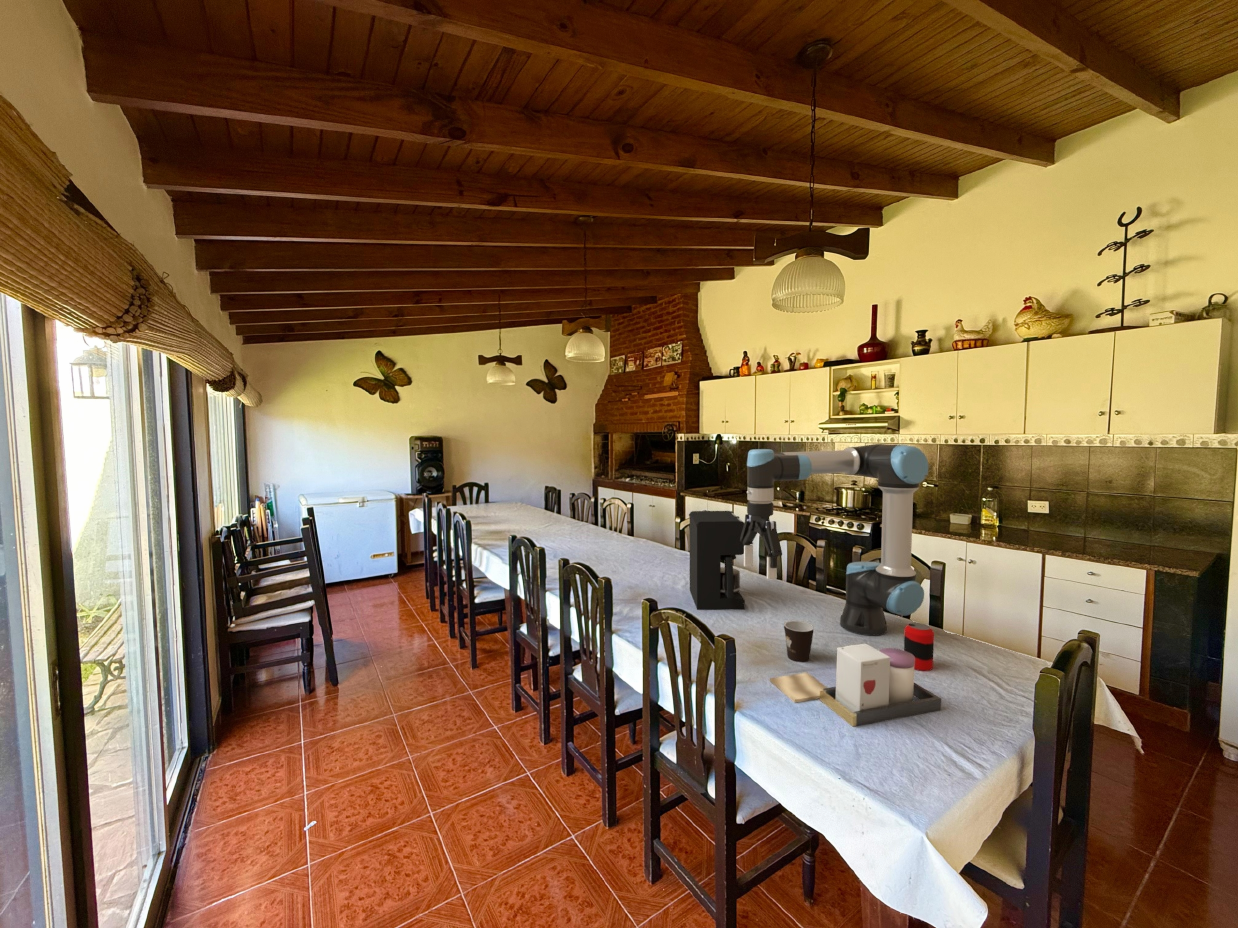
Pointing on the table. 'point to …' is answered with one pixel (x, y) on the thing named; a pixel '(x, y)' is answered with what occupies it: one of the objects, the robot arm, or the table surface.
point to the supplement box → (862, 677)
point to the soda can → (920, 645)
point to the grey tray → (889, 712)
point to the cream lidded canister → (900, 675)
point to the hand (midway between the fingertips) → (759, 572)
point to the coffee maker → (715, 560)
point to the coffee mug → (798, 640)
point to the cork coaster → (799, 686)
